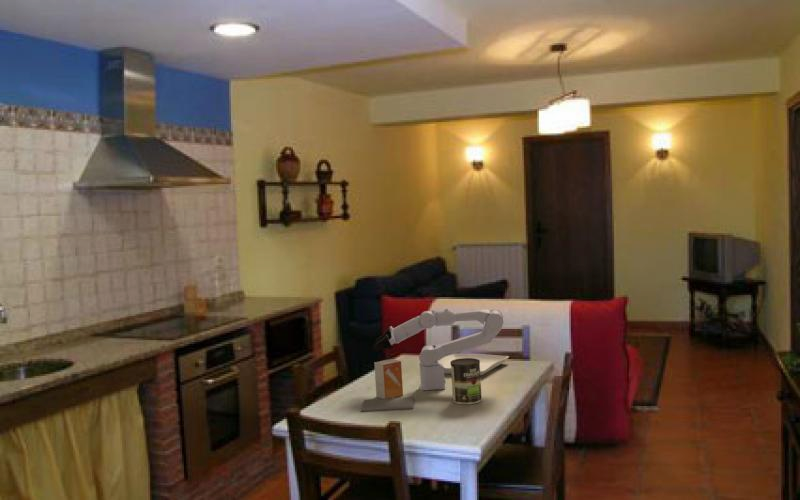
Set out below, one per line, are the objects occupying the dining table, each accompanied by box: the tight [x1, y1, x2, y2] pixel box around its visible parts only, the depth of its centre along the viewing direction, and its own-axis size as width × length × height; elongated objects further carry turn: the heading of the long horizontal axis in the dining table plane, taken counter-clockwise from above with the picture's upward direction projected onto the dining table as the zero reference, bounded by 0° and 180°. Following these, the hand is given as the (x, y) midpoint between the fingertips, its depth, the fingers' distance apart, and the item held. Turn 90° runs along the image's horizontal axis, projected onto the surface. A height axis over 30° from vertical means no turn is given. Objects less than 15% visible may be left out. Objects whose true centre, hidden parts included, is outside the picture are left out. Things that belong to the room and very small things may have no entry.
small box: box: [373, 358, 404, 399], centre depth 267 cm, size 8×6×13 cm
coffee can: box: [450, 358, 483, 406], centre depth 254 cm, size 10×10×14 cm
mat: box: [360, 396, 415, 413], centre depth 255 cm, size 18×13×1 cm
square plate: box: [438, 353, 510, 376], centre depth 301 cm, size 27×27×4 cm
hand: (375, 346), depth 277 cm, fingers open, 7 cm apart
